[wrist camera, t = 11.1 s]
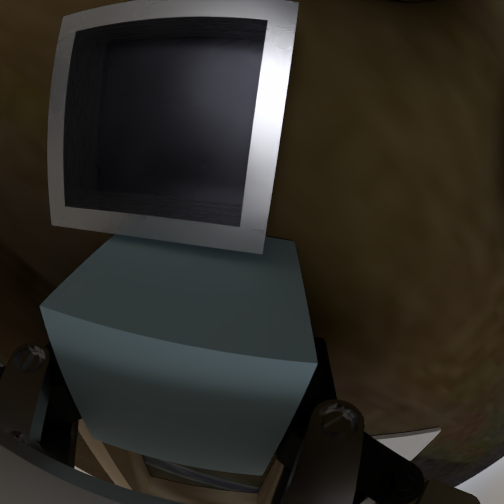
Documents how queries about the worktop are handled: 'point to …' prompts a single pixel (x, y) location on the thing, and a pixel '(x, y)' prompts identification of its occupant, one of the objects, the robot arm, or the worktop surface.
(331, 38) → the worktop surface
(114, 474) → the cubby
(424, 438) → the mat
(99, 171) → the tray
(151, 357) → the blue block
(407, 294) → the worktop surface
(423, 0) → the coffee cup
